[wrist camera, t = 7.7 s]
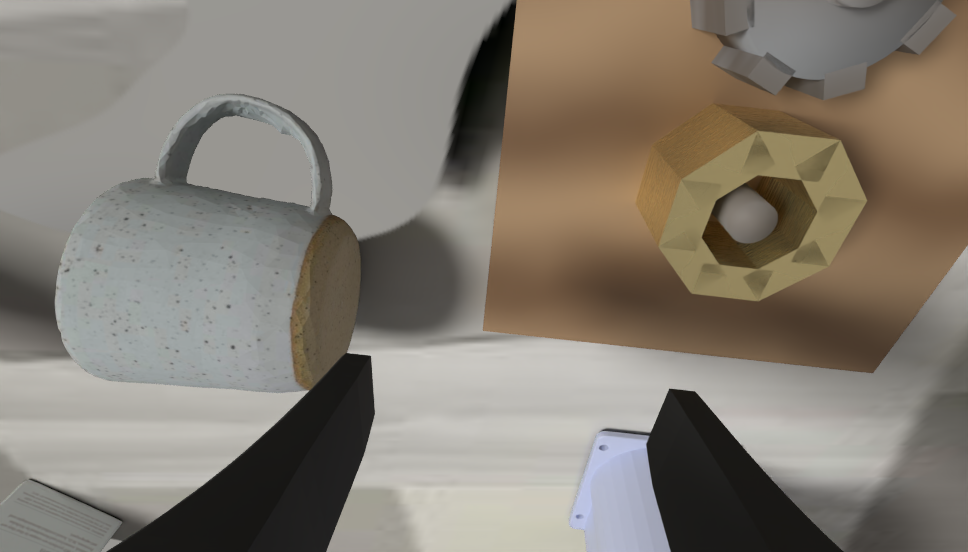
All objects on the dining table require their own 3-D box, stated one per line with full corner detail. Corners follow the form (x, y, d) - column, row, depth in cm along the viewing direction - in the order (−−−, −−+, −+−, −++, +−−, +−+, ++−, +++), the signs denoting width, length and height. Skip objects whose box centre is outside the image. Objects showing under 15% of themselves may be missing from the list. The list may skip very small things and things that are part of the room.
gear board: (856, 355, 22) (932, 438, 18) (484, 315, 22) (476, 387, 18) (1202, -143, 12) (1533, -206, 8) (538, -203, 13) (546, -294, 9)
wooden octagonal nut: (759, 255, 18) (805, 306, 15) (624, 239, 18) (644, 288, 15) (826, 115, 15) (899, 146, 12) (665, 97, 15) (700, 124, 12)
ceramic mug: (371, 322, 23) (312, 451, 17) (210, 301, 23) (87, 421, 16) (368, 103, 18) (277, 166, 11) (156, 75, 18) (-61, 120, 11)
